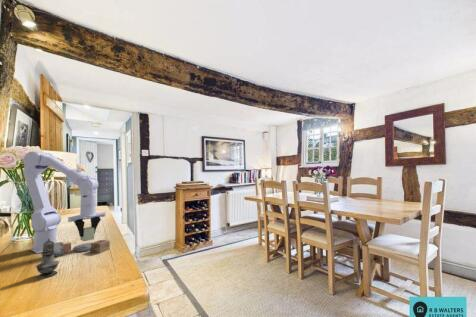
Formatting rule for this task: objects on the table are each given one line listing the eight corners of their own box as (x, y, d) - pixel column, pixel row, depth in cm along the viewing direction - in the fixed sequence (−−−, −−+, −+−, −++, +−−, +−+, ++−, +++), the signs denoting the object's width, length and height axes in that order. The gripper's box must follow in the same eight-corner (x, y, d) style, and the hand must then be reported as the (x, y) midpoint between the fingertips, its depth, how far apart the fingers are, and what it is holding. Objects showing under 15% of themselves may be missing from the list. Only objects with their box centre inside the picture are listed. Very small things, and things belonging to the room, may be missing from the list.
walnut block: (90, 252, 96) (90, 243, 96) (100, 248, 100) (100, 239, 101) (99, 253, 94) (100, 244, 95) (109, 249, 99) (109, 240, 99)
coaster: (69, 249, 100) (69, 247, 100) (93, 243, 108) (93, 241, 108) (78, 253, 94) (78, 251, 94) (103, 247, 102) (103, 245, 102)
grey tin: (48, 256, 91) (49, 244, 92) (60, 253, 95) (61, 241, 95) (52, 258, 89) (52, 245, 89) (64, 255, 92) (64, 243, 93)
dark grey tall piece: (45, 280, 71) (46, 241, 72) (30, 278, 72) (32, 240, 73) (63, 271, 77) (64, 236, 77) (49, 270, 78) (50, 235, 79)
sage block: (80, 239, 100) (80, 228, 101) (90, 237, 104) (90, 226, 104) (83, 241, 98) (84, 229, 98) (94, 239, 101) (94, 228, 102)
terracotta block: (50, 252, 96) (51, 244, 96) (67, 249, 101) (68, 241, 101) (53, 254, 93) (54, 246, 94) (70, 250, 98) (71, 242, 98)
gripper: (73, 207, 94) (71, 240, 93) (108, 203, 106) (108, 232, 105) (66, 206, 98) (65, 238, 97) (101, 202, 110) (101, 230, 109)
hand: (87, 235), depth 101 cm, fingers closed on sage block, 4 cm apart
